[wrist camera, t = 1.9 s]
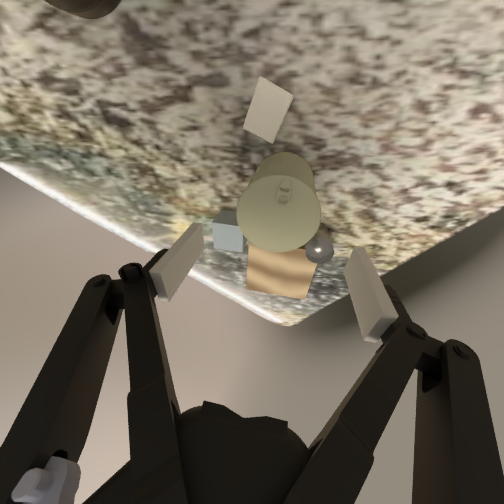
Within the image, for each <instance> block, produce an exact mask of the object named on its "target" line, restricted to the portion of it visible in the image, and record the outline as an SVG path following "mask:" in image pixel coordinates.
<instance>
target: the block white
mask: <svg viewBox="0 0 504 504" xmlns="http://www.w3.org/2000/svg"><path fill="white" fill-rule="evenodd" d="M293 98H294V95H292V94H291V93H289V92H287V91H285V90H284V89H282V88H280V87H278V86H277V85H275V84H273V83H271V82H270V81H268V80H266V79H264V78H263V77H261V76H260V77H259V80H258V83H257V86H256V89H255V92H254V95H253V98H252V101H251V104H250V107H249V110H248V113H247V116H246V119H245V122H244V125H243V128H244V129H245V130H247V131H249V132H251V133H253V134H255V135H257V136H259V137H260V138H262V139H264V140H266V141H268V142H270V143H272V144H273V142H274V140H275V139H276V136H277V134H278V132H279V130H280V127H281V125H282V123H283V121H284V118H285V116H286V114H287V112H288V109H289V107H290V105H291V103H292V100H293Z"/></svg>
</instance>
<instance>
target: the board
mask: <svg viewBox="0 0 504 504" xmlns="http://www.w3.org/2000/svg"><path fill="white" fill-rule="evenodd" d="M316 265H317V263H313V262H311V261H309V260H308V259H307V257H306V251H305V246H301V247H299V248H297V249H294V250H291V251H287V252H272V251H267V250H264V249H261V248H259V247H257V246H255V245H254V244H252V243H251V242H250V241H249V253H248V270H247V286H246V289H249V290H254V291H260V292H266V293H271V294H277V295H282V296H288V297H294V298H299V299H305V297H306V294H307V292H308V289H309V286H310V283H311V280H312V277H313V274H314V271H315V268H316Z"/></svg>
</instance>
